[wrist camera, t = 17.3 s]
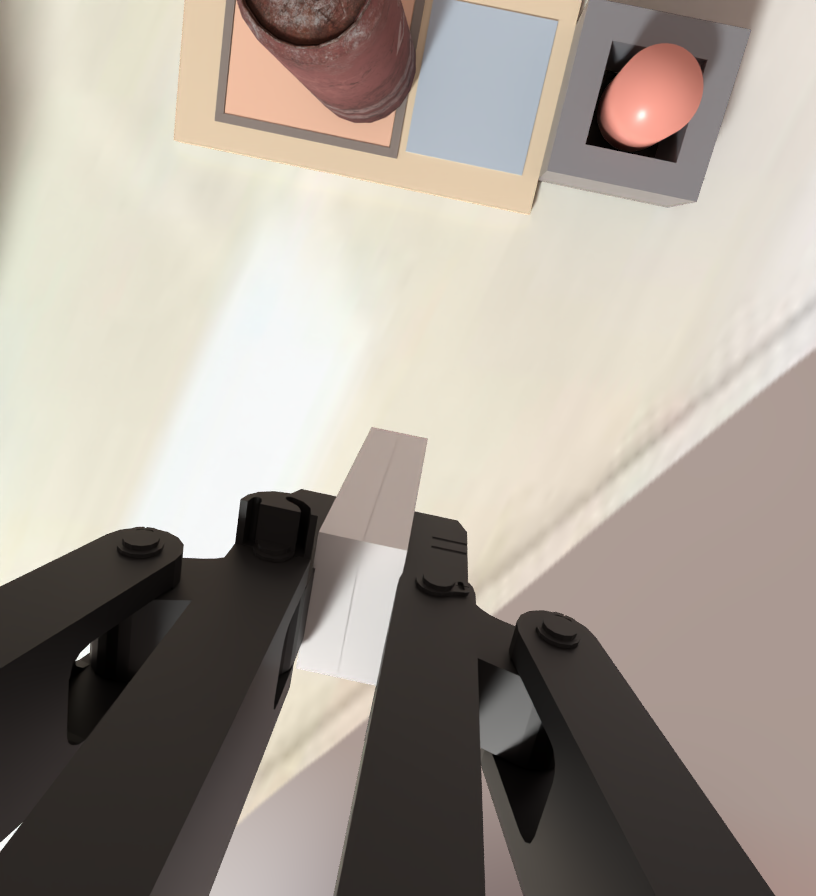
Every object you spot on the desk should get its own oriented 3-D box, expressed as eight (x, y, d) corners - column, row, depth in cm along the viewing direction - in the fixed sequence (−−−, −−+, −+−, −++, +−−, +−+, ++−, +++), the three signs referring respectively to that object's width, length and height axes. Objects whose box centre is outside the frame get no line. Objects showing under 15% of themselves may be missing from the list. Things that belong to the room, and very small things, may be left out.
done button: (588, 143, 35) (605, 129, 31) (609, 62, 34) (630, 35, 30) (660, 158, 35) (687, 146, 31) (684, 77, 34) (715, 52, 30)
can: (325, -14, 36) (238, -169, 23) (431, 27, 36) (408, -104, 23) (294, 101, 38) (198, 21, 24) (396, 140, 38) (355, 80, 25)
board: (179, 142, 40) (172, 139, 39) (197, -89, 36) (191, -98, 35) (528, 214, 39) (530, 214, 38) (583, -11, 36) (586, -18, 35)
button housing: (537, 180, 39) (547, 170, 34) (573, 29, 36) (589, -3, 32) (667, 207, 39) (696, 201, 34) (713, 58, 36) (751, 29, 31)
